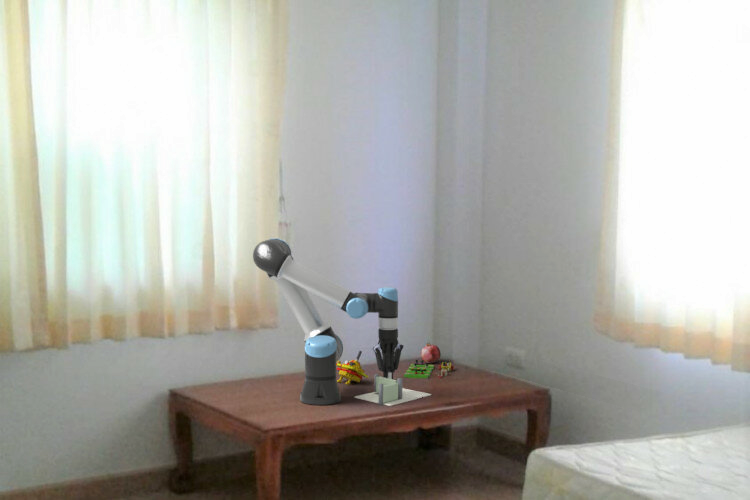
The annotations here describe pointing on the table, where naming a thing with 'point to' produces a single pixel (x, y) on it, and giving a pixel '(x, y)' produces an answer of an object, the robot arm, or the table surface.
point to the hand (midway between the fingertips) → (388, 388)
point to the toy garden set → (426, 370)
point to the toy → (351, 370)
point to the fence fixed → (390, 391)
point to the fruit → (430, 353)
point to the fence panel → (381, 382)
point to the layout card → (406, 396)
